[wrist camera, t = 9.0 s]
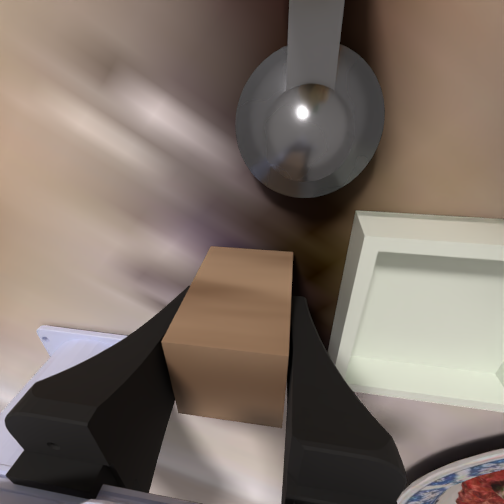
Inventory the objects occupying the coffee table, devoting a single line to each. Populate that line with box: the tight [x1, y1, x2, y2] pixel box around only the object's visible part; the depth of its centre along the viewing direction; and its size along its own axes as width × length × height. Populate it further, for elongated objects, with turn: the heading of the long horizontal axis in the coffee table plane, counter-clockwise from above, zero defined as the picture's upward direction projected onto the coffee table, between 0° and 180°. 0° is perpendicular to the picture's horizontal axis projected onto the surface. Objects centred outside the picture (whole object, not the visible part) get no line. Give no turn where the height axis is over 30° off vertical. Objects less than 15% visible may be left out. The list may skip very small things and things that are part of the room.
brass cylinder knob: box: [261, 0, 355, 182], centre depth 7 cm, size 8×3×4 cm, turn 1°
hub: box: [235, 44, 385, 198], centre depth 11 cm, size 5×5×1 cm
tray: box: [328, 211, 504, 413], centre depth 13 cm, size 9×9×2 cm
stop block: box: [161, 246, 293, 428], centre depth 13 cm, size 4×4×6 cm
